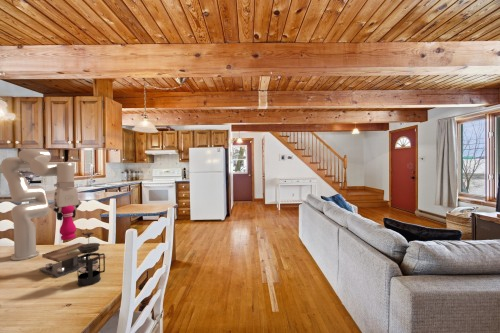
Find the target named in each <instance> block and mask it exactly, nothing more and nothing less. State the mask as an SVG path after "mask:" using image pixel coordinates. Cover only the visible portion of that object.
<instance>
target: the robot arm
mask: <svg viewBox="0 0 500 333" xmlns="http://www.w3.org/2000/svg"><path fill="white" fill-rule="evenodd" d="M51 160H52V155H51V152H50V151H49V150H47V149H45V148H24V149H22V150H20V151H19V152H18V156H11V157H6V158H4V159H3V160H2V161H1V162H0V163H1V164H0V169H1V170H0V171H1V173H2V175H3V176H4V178H5V180H6V182H7V187H8V191H9V194H10V197H11V200H12V202H14V203H21V204H18V205H15V206H13V207H12V208H11V212H10V213H11V218H12V223H13V242H14V243H13V244H14V245H13V247H14V248H13V249H14V252H13V253H14V254H12V255H11V257H10V260H11V261H24V260H28V259H32V258H35V257H37V256H39V255H40V251H39V250H37V240H36V238H37V235H36V234H37V233H36V232H37V231H36V229H37V228H36V224H35V222H33V221H32V220H33V219H37V218H43V217H47V215H49V213H50V209H51V211H54V212H55V213H56V220H58V221H63V217H62V213H61V210H62V207H66V206H70V205H71V206H74V211H73V212H72V213H73V216H72V219H74V218H76V215H77V214H76V212H77V209H78V208H79V206H80V205H81V204H82V201H80V199H79V194H78V189H77V187H75V164H74V163H73V162H55V161H54V162H53V161H51ZM50 161H51V162H50ZM21 172H32V174H34V175H36V176H39V177H45V178H46V177H56V183H54V184H53V186H54V188H55V189H54V195H53V202H52V203H51V204H50V205H49V200H48V197H47V192H46V190H45V188H44V187H43V186H41V185H30V184H28V183H29V182H28V179H27V178H26V177H25V175H23V174H22V173H21ZM27 202H28V203H27Z"/></svg>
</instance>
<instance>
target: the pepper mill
mask: <svg viewBox="0 0 500 333" xmlns="http://www.w3.org/2000/svg"><path fill="white" fill-rule="evenodd" d="M73 211H74V206H71V205H70V206H66V207H62V210H61V213H62V221H61V222H62V223H61V226H60V228H59V234H60V235H61V236H60V240H61V241H70V240H74V239H75V238H76V231H77V227H76V224H75V223H74V221H73V218H72V216H73V213H72V212H73Z"/></svg>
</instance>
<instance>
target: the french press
mask: <svg viewBox="0 0 500 333" xmlns="http://www.w3.org/2000/svg"><path fill="white" fill-rule="evenodd" d="M94 234H95V233H94V232H93V231H92V232H85V233H83V235H82V236H87V242H88V243H83V244H84V245H81V246H79V247H77V249H78V250H79V251H80V252H81V253H83V254H81V255H78V258H77V273H78V274H77V281H76V285H77V286H78V287H89V286H92V285H95V284H98V283H99V282H100V281H101V274H102V273H105V272H106V263H105V261H106V258H105V257H106V254H105V253H104V252H103V253H99V252H97V251H99V250H100V246H101V243H99V242H91V243H90V237H91V236H93V235H94ZM92 256H96V257H92ZM101 256H103V258H102V259H103V264H102V266H103V270H101ZM84 257H85V260H79V259H81V258H84ZM91 257H92V258H91ZM95 260H98V263H96V264H93V261H95ZM78 262H79V263H86V266H84V267H81V268H80V269H79V270H78ZM79 273H80V274H79Z"/></svg>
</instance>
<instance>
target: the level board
mask: <svg viewBox="0 0 500 333" xmlns="http://www.w3.org/2000/svg"><path fill="white" fill-rule="evenodd" d="M84 244H85V243H82V242H78V243H75V244H70V245H68V246H65V247H62V248H58V249H55V250H52V251H50V252H49V251H48V252H46V253H43V254H41V257H42V258H44V259H45V260H46V259H47V260H50V261H53V262H55V263H60V262H62V261H64V260H67V259H70V258H72V257H75V256H78V257H79V256H81V255H84V254H83V253H81V252H80V251H79V250H78V249H77V247H79V246H81V245H84Z"/></svg>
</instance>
